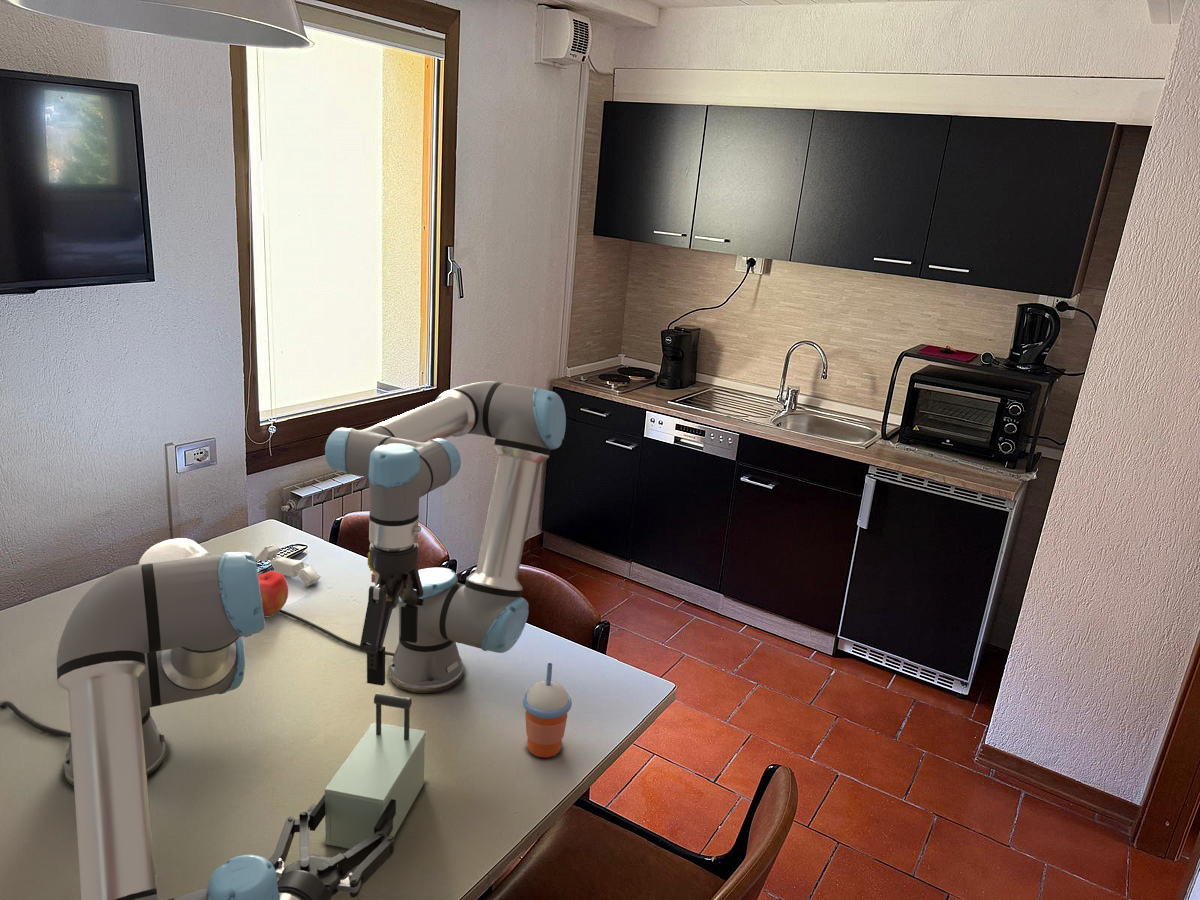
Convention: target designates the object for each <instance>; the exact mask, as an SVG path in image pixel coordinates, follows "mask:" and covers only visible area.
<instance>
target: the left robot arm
mask: <svg viewBox="0 0 1200 900" xmlns="http://www.w3.org/2000/svg"><path fill="white" fill-rule="evenodd" d="M209 555H210V556H202V557H195V558H187V559H180V560H172V561H165V562H157V563H150V564H142V565H141V564H139V563H138V564H131V565H128V566H125V567H121V568H118V569H116V570H114V571H112V572H110V573H109V574H106V575H105V576H104V577H102V578H101V579H100V580H98V581H97V582H96V583H95V584H94V585H92V586H91V588H89V589H88V591H87V592H86V593H85V594H84V595H83V596H82V597H81V598H80V600H79V601H78V603H76V606H75V607H74V608H73V610H72V612H71V614H70V616H69V618H68V619H67V621H66V624H65V626H64V629H63V631H62V633H61V637H60V640H59V644H58V648H57V655H56V662H55V663H56V679H57V680H56V682H57V685H58V686H59V687H60V688H62V689H63V690H64V691H66V692H67V695H68V696H67V697H68V710H69V711H68V713H69V725H70V726H69V727H70V732H69V731H65V730H61V729H57V728H53V727H50V726H47V725H44V724H42V723H40V722H37V721H36V720H35V719H32V718H31V717H29V716H28V715H26V714H25V713H24V712H22V711H21V710H20V709H19V708H18V706H16V705H15V704H14V703H12V702H11V701H3V702H2V703H1V704H0V708H5V707H8V708H9V709H10V710H11V711H12V713H14V714H15V715H16V716H18V718H20V719H21V720H23V721H25V722H26V723H27V724H29V725H30V726H32V727H34V728H36V729H38V730H41V731H43V732H46V733H49V734H53V735H57V736H61V737H65V738H70V740H69V744H68V748H67V751H66V752H67V753H66V755H65V759H64V765H63V769H64V776H65V779H66V781H67V782H68V784H70V785H71V786H72V787H73V789H74V791H73V792H74V803H75V804H74V806H75V822H76V836H77V837H76V838H77V852H78V867H79V868H78V870H79V883H80V898H81V900H159V896H158V883H157V882H158V881H157V871H156V861H155V850H154V841H153V840H154V839H153V828H152V819H151V817H152V816H151V808H150V807H151V806H150V797H149V784H148V776H150V775H151V774H153V772H155V771H156V770H157V769H158V768H159V767H160V766H161V764H162V763H163V761H164V760H165V757H166V743H165V735H164V734H162V732H161V731H159V729H158V727H157V725H156V722H155V720H154V719H153V717H152V715H151V708H154V707H159V706H163V705H169V704H173V703H174V704H175V703H179V702H183V701H189V700H195V699H200V698H204V697H209V696H214V695H224V694H226V693H227V692H230V691H234V690H236V689H238V688H239V687H240V686H241V684H242V683H243V680H244V678H245V677H244V676H245V667H246V659H245V658H246V657H245V647H244V642H243V641H244V640H243V638H249V637H251V636H253V635H257V634H260V633H262V632H263V631H264V630H265V627H266V622H265V621H266V620H265V617H264V613H263V606H262V599H261V592H260V585H259V579H258V564H257V563H256V560H255V559H256V557H255V556H254V554H253V553H251V552H249V551H236V552H233V551H225V552H223V553H219V554H209ZM395 815H396V800H394V799H391V801H390V802H389V804H388V806H387V807H386V809H385V811H384V812H383V814H382V815H381V817H380V819H379V820H378V822H377V824H376V825H375V827H374V834H373V835H372V836H370V837H369V838H367V839H365V840H364V841H362V842H361V843H359V844H358V845H356V846H355V847H353V848H351V849H348V850H347V851H345V852H344V853H342V852H339V853H338V854H335V855H334V856H333V857H331V856H321V855H319V854H316V853H312V854H311V855H310V846H309V845H310V842H309V831H312V832H315V831H316V829H317V828H318V826H319V825H320V824H321V822H322V821H323V819H325V793H324V794H323V796H322V797H321V798H320V799H319V801H318V803H317V804H315V803H312V805H310V806H309V807H308V809H307V811H302V812H300V813H299V817H298V818H295V817H294V816H289V817H287V818H286V820H285V822H284V825H283V827H282V830H281V833H280V836H279V839H278V841H277V844H276V847H275V850H274V852H273V854H272V856H271V857H269V859H267V858H266V857H264V856H262V855H258V854H241V855H237V856H233V857H232V858H229V859H228V860H227V861H226V862H225V863H223V864H221V865H219V866H218V867H216V869H215V870H214V871H213V872H212V874H210V875H211V876H210V878H209V880H208V886H207V887H205V888H202V889H197V890H195V891H191V892H189V893H185V894H182V895H178V896H175V897H173V898H169V899H167V900H331V899H332V898H333V896H335V895H336V894H337V893H339V892H348V893H349V897H350V898H357V897H359V895H360V892H361V890H362V887H363V886H364V884H365V883H367V881H368V880H369V879H371V877H372V876H373V875H374V874H376V872H377V871H378V870H379V869H380V868H381V867H382V866H383V865H384V864H385V863H386V862H387V861H388V860H389V858H391V857H392V856H393V854H394V853H395V836H394V837H393V836H389V835H390V834H391V832H392V830H393V818H394V816H395ZM296 833H299V860H296V861H295V862H293V863H291V864H289V865H287V866H286V865H285V863H286V861H287V858H288V854H289V852H290V849H291V846H292V842H293V839H294V837H295V834H296ZM353 869H354V870H353ZM352 870H353V872H350V871H352ZM347 875H348V876H347Z"/></svg>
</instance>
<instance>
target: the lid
mask: <svg viewBox="0 0 1200 900" xmlns="http://www.w3.org/2000/svg"><path fill="white" fill-rule="evenodd" d="M373 703H374V705H375V721H373V722H372V723H371V724H370V726H369V727H368V728H367V730H366V731H365V732H364V733H363V735H362V737H361V738H360V739H359V741H358V742H357V744H356V745H355V746H354V748H353V749H352V750H351V752H350V753H349V755H348V756H347V757H346V759H345V760H344V762H342V765H341V766H340V767H339V768H338V770H337V771H336V773H335V774H334V775H333V777H332V778H331V779H330V781H329V782H328V784H327V785H326V786H325V787H324V794H325V793H326V794H331V795H336V796H341V797H347V798H352V799H357V800H362V801H368V802H373V803H378V804H384V803H385V801H386V800H387V798H388V796H389V795H390V793H391V791H392V790H393V788H394V787H395V785H396V783H397V782H398V780H399V778H400V777H401V775H402V773H403V772H404V770H405V768H406V767H407V765H408V764H409V762H410V760H411V759H412V757H413V755H414V754H415V752H416V750H417V749H418V747H419V745H420V744H421V742H422V740H423V739H424V737H426V736H427V731H426V730H422V729H416V728H410V722H411V721H410V716H411V715H410V714H411V709H410V708H411V707H412V704H413V699H412V698H410V697H406V696H401V695H400V696H399V695H394V694H389V693H382V692H376V693H375V695H374V697H373ZM382 706H386V707H391V708H397V709H403V712H404V713H403V717H404V718H403V726H399V725H394V724H389V723H383V722H382Z"/></svg>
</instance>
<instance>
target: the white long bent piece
mask: <svg viewBox="0 0 1200 900" xmlns="http://www.w3.org/2000/svg"><path fill="white" fill-rule="evenodd" d="M280 549H281V547H279V546H278V545H277V544H272V545H266V546H264V547H263V549H262V550H261V551H260V552H259V554H258V555H257V556H256V557H255V560H256V561H259V560H262V561H268V560H271V562H270V563H269V564H271V565H272V566H273V568H274V571H275V572H278V573H281V574H282V575H283V576H288V577H292V578H296V577H298V578H299V579H300V580H301V582H303V584H304V585H305V587H309V586H312V585H314V584H316V583H318V582H319V580H320V579H321V578H322V577H321V575H320V574H319V573H318V572H317V570H315V569H314V568H313V566H312V565H310V564H309V565H308V564H307V563H305V562H304V561H303V560H301V559H300V560H299V559H292V558H289V557H285V556H278V553H279V551H280ZM273 558H274V559H273ZM272 559H273V560H272ZM305 566H306V567H305ZM270 571H271V570H270Z"/></svg>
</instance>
